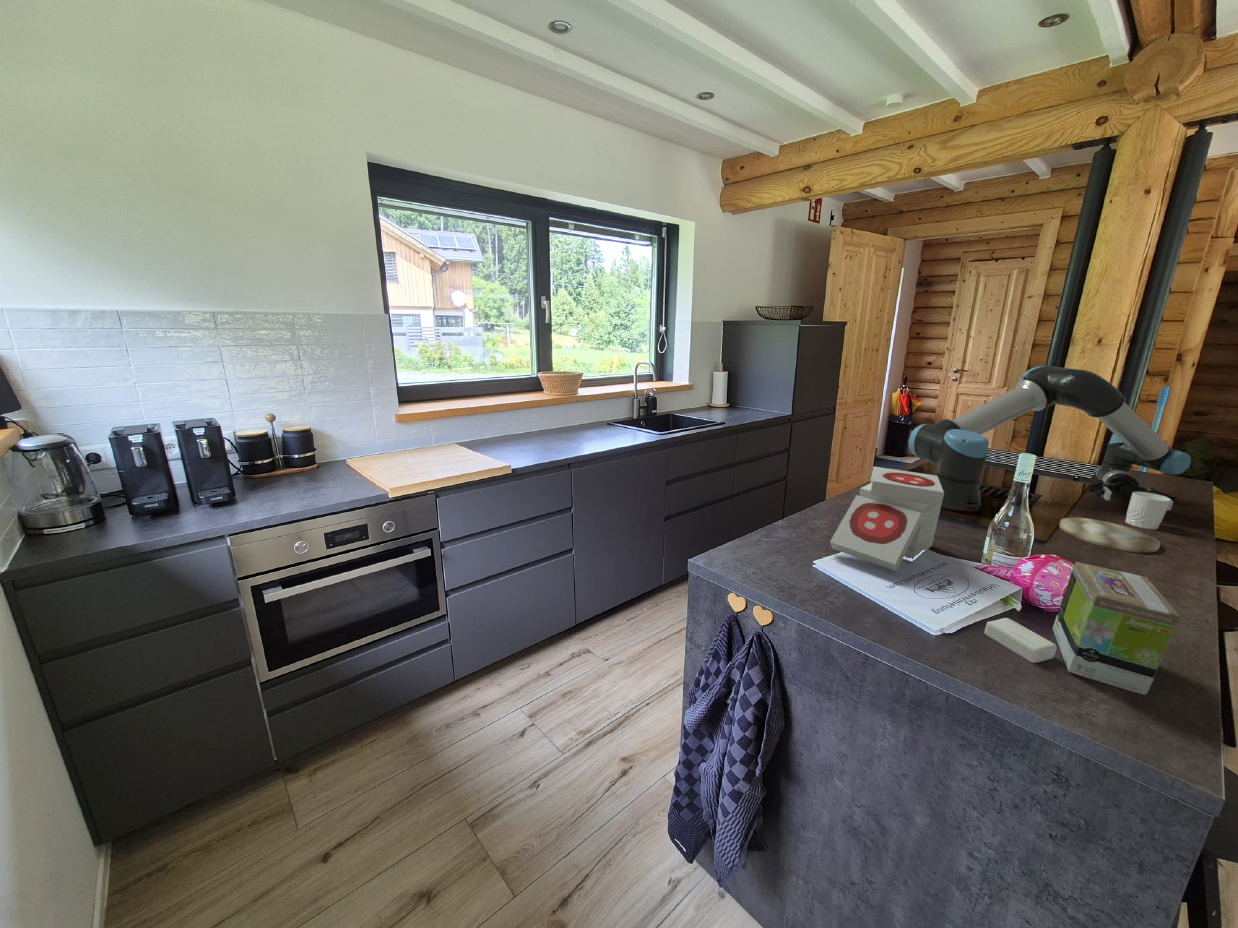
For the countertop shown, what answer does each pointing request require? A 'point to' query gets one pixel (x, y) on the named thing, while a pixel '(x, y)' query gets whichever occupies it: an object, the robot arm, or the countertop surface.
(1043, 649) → the soap
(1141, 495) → the white cup
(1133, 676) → the tea box
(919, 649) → the countertop surface
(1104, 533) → the turntable platter
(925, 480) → the pizza boxes
